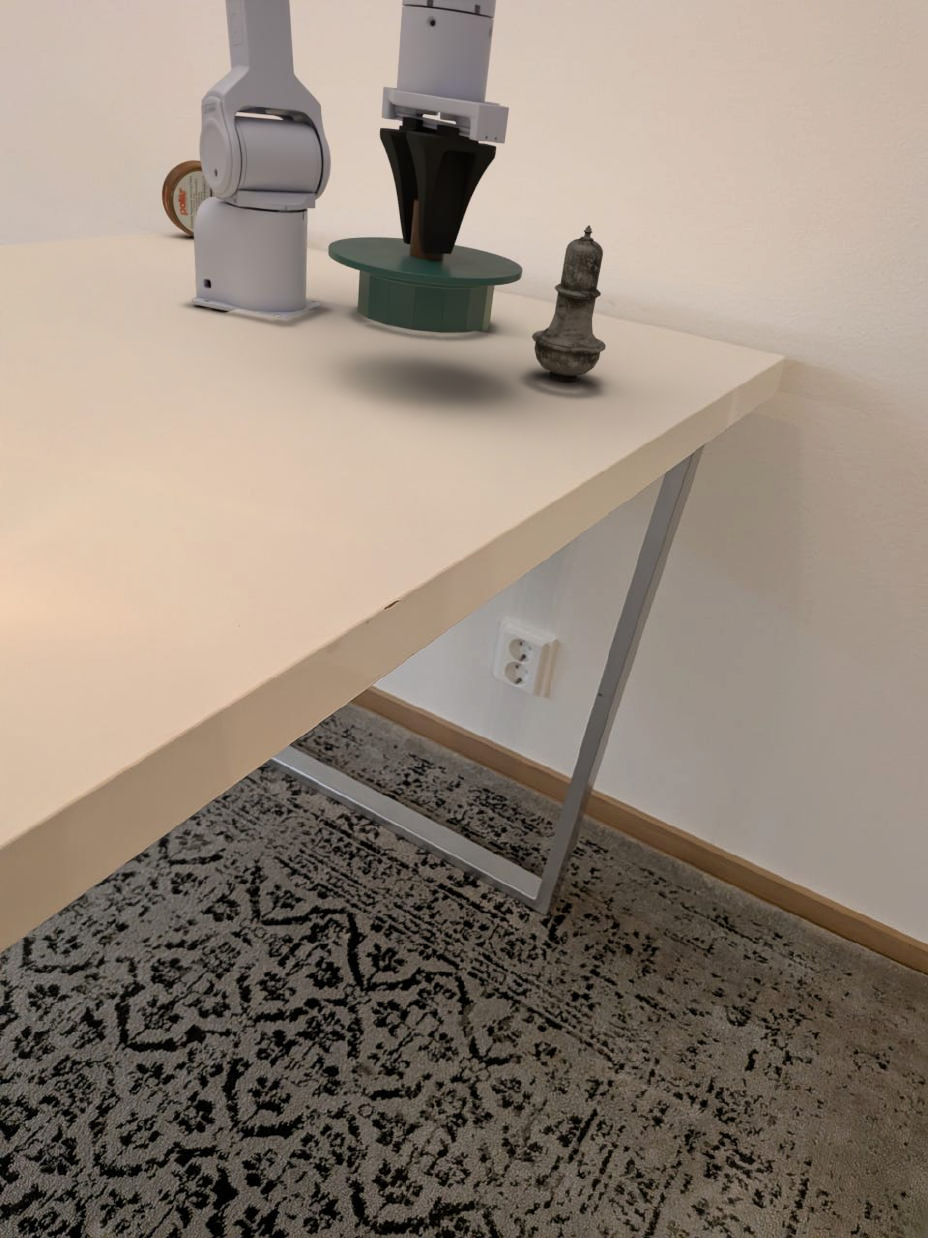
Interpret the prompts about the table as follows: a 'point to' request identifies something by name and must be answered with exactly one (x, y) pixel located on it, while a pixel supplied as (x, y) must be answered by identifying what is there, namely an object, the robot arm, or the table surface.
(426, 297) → the canister
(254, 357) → the table surface
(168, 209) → the tin
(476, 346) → the table surface
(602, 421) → the table surface
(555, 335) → the salt shaker
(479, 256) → the lid
